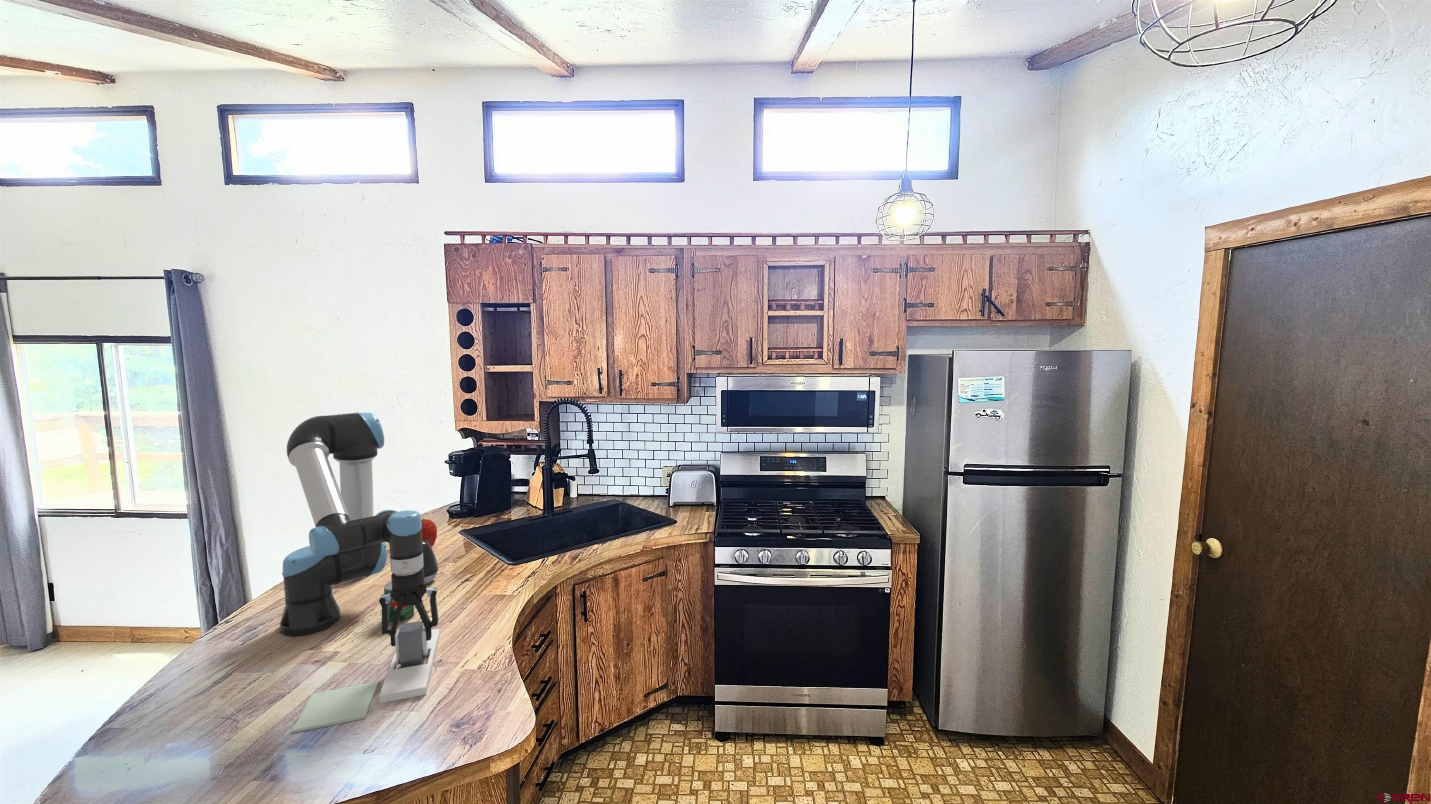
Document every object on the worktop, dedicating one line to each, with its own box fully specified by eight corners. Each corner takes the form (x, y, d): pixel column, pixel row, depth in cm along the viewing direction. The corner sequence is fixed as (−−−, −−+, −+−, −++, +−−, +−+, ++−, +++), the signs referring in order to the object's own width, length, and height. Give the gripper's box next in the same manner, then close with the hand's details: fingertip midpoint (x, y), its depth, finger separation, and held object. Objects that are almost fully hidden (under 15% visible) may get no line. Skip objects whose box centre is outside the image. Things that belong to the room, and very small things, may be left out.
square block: (400, 672, 146) (398, 633, 145) (404, 662, 151) (401, 623, 150) (422, 669, 148) (420, 629, 147) (424, 659, 152) (422, 620, 151)
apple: (411, 547, 236) (409, 515, 234) (438, 544, 240) (436, 512, 238) (409, 556, 226) (408, 522, 225) (437, 552, 230) (435, 519, 229)
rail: (379, 703, 134) (379, 695, 133) (401, 641, 162) (401, 634, 161) (426, 694, 137) (425, 686, 137) (440, 635, 165) (439, 628, 165)
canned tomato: (401, 625, 171) (399, 590, 170) (379, 622, 172) (377, 588, 171) (420, 612, 179) (418, 580, 177) (398, 610, 180) (396, 577, 179)
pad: (292, 733, 123) (291, 730, 123) (312, 695, 136) (312, 693, 136) (365, 718, 128) (364, 716, 128) (378, 683, 141) (378, 681, 141)
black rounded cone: (444, 576, 206) (442, 536, 205) (427, 588, 196) (425, 547, 194) (418, 575, 207) (416, 535, 206) (400, 587, 197) (398, 545, 195)
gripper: (363, 581, 140) (368, 668, 142) (445, 571, 146) (449, 654, 149) (369, 570, 147) (375, 653, 149) (448, 560, 153) (452, 640, 156)
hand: (412, 653), depth 149 cm, fingers open, 6 cm apart
